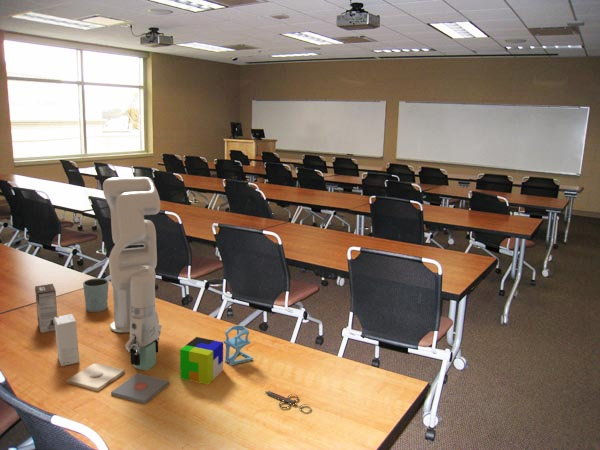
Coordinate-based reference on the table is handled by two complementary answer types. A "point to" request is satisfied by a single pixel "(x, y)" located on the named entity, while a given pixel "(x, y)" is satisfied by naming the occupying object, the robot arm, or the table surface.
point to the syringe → (282, 398)
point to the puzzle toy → (201, 360)
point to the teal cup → (96, 294)
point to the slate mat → (140, 388)
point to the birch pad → (95, 376)
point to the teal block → (147, 356)
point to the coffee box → (46, 307)
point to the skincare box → (66, 339)
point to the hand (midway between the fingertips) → (144, 358)
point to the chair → (237, 344)
